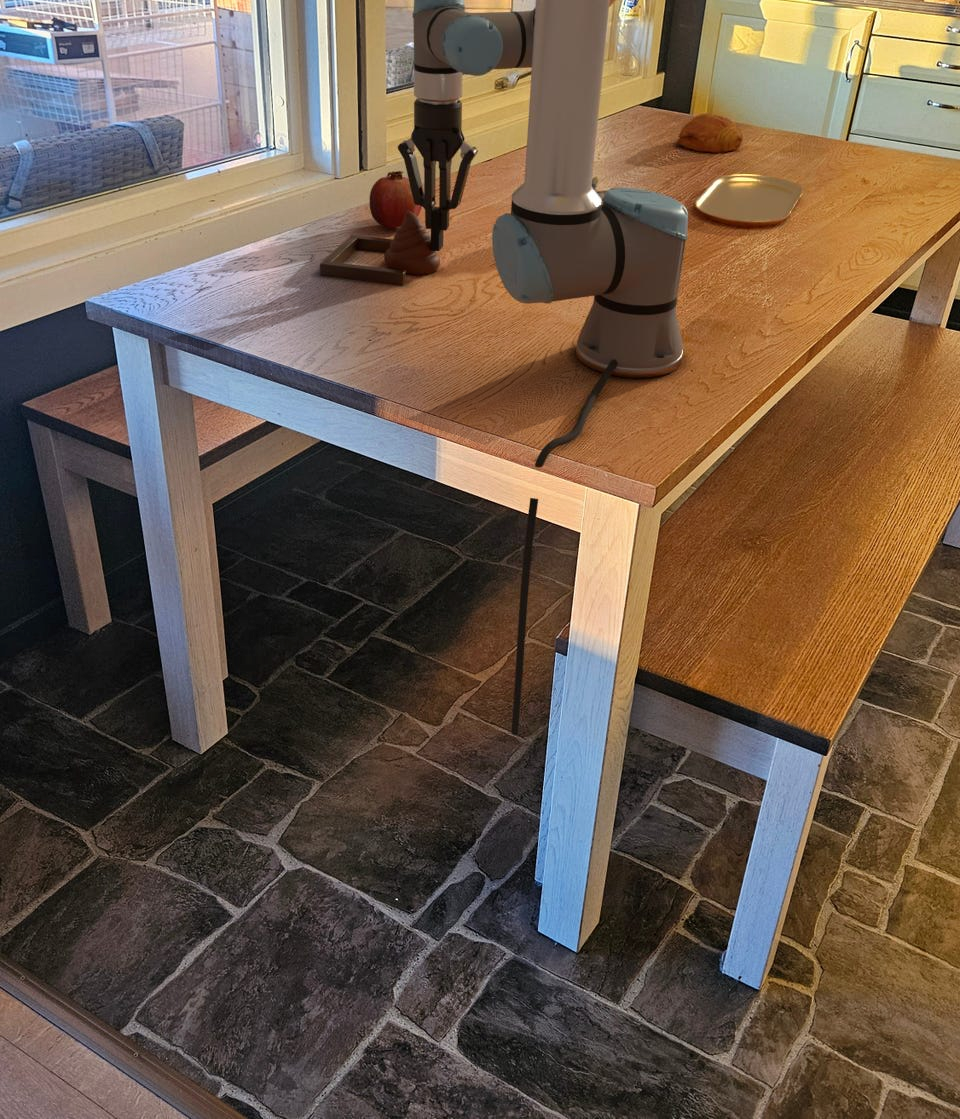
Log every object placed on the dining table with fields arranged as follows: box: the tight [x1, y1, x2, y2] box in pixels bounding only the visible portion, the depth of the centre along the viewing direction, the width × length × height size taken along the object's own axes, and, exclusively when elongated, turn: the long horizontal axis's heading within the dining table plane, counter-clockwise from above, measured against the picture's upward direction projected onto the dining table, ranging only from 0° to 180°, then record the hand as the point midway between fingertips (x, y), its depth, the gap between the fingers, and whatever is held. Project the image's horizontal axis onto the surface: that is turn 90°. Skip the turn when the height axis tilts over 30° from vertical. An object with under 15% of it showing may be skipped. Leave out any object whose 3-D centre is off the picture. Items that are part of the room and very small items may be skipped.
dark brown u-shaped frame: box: [319, 234, 407, 286], centre depth 186 cm, size 16×14×2 cm
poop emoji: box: [383, 211, 441, 276], centre depth 183 cm, size 10×8×9 cm
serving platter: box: [694, 173, 804, 228], centre depth 223 cm, size 19×35×2 cm, turn 157°
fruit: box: [369, 170, 423, 228], centre depth 201 cm, size 11×10×10 cm
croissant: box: [677, 112, 743, 154], centre depth 261 cm, size 14×16×8 cm
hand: (436, 248), depth 182 cm, fingers closed
